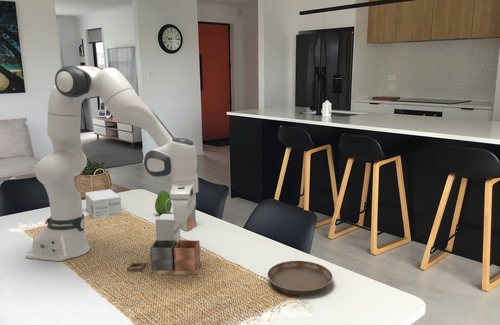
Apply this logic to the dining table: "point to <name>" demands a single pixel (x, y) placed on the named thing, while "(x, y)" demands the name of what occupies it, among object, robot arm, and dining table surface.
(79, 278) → the dining table surface
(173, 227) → the supplement box
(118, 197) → the supplement box
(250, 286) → the dining table surface
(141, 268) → the ball stand
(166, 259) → the stacked cubby shelf
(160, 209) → the avocado
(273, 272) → the plant saucer
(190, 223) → the ball
